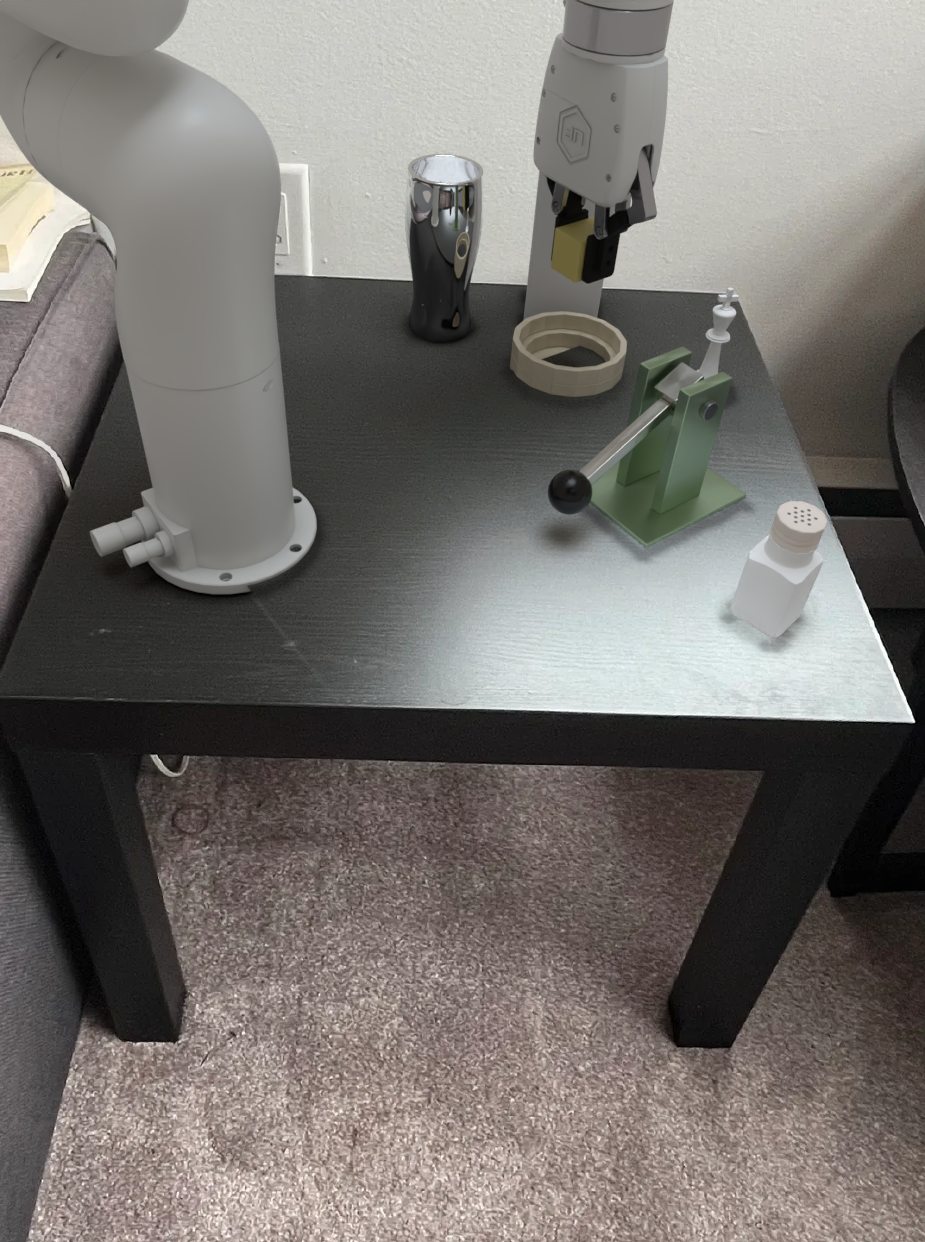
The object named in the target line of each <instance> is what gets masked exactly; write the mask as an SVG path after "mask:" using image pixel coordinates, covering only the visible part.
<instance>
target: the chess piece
mask: <svg viewBox="0 0 925 1242" xmlns="http://www.w3.org/2000/svg"><path fill="white" fill-rule="evenodd" d="M734 291H735V289H734V288H733V287H726V290H725V294H718V295H717V298H716V300H717V302H718V303H722V304H717V305H715V306H713V308H712V320H713V322H712V323H713V324H712V325H713V327H712V328H709V329H707V331H706V333H705V337H706V339H707V340H709V341H710V342H709V345H708V348H707V350H706V352H705V355H704V358H703V361H702V362H701V365H700V368H699V369H696V370H695V371H697V372H698V373H700V374H702V375H703V376H704V379H706V378H709V377H711V376H713V375H716V374H718V373H719V364H720V357H721V350H722V344H726V343H728V342H730V340H731V335H730V332H728V331H727V329H728V328H729V326H730V325H731V323H732V321H734V319H735V317H736V315H737V311H736V308H734V307H733V306H731V302H733V303H734V302H739V298H740V296H739V294H737V293H734Z"/></svg>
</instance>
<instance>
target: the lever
mask: <svg viewBox="0 0 925 1242" xmlns="http://www.w3.org/2000/svg"><path fill="white" fill-rule="evenodd" d="M701 380H704V376H703V375H702V374H700V373H698V372H697V371H696V370H695V369H694V368H692V367H691V366H690V365H689V366H688V365H686V364H684V363H683V362H681V363H680V364H679V365H678V366H677V367H676V368H675V369H673V370H672V371H671V372H670V373H669V374H668V375H667V376H666V377H665V378H663V379H662V380H661V381H660V382H659V383H658V384H657V385H656V386H655V387H654V389H655V393H656V397H657V401H656V402H655V403H654V404H653V405H652V406H650V407H649V408H648V409H647V410H646V411H645V412H644V413H643V414H642V415H640V416H639V417H638V418H637V419H636V420H635V421H634V422H633V423H632V424H630V425H629V426H628V427H627V426H626V428H625V429H623V430H622V431H621V432H620V433H619V434H618V435H617V436H616V437H615V438H614V439H612V441H610V442H609V443H608V444H607V445H606V446H605V447H604V448H602V450H601V451H599V452H598V453H597V454H596V455H595V456H594V457H593V458H592V459H590V461H588V462H586V464H585V465H584V466H582V468H581V469H579V470H576V469H565V470H562V471H559V472H558V473H556V474H555V475H554V476H553V477H552V478H551V479H550V481H549V483H548V486H547V498H548V501H549V504H550V505H551V507H552V508H553V509H554V510H556V511H557V512H558V513H561V514H563V515H567V516H571V515H577V514H580V513H582V512H583V511H584V510H586V508H587V507H588V506H589V505H590V504H591V503H590V501H591V498H592V485H593V484H594V483H595V482H596V481H597V480H598V479H600V478H601V477H602V476H603V475H604V474H605V473H606V472H607V471H608V470H609V469H611V468H612V467H613V466H614V465H615V464H616V463H617V462H618V461H619V460H621V459H622V458H623V457H624V456H625V455H626V454H627V453H628V452H629V451H630V450H632V449H633V448H634V447H635V446H636V445H637V444H638V443H639V442H640V441H642V440H643V439H644V438H645V437H646V436H647V435H648V434H649V433H650V432H651V431H653V430H654V429H655V428H656V427H657V426H658V425H659V424H660V423H661V422H662V421H664V420H665V419H666V418H667V417H668V416H669V415H671V416H672V417H673V415H674V411H675V407H676V403H677V399H678V395H679V391H680V389H682V388H684V387H687V386H689V385H692V384H694V383H696V382H699V381H701Z"/></svg>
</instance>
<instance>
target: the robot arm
mask: <svg viewBox="0 0 925 1242" xmlns="http://www.w3.org/2000/svg"><path fill="white" fill-rule="evenodd" d="M674 1H675V0H562V4H563V7H564V17H563V27H562V32H560V33H558V34H556V36H555V37H554V38H555V39H554V41H553V45H552V47H551V51H550V54H549V58H548V61H547V65H546V69H545V73H544V79H543V83H542V88H541V93H540V99H539V105H538V112H537V118H536V125H535V133H534V140H533V141H534V142H533V158H532V159H533V164H534V166H535V167H536V169H537V170H538V172H539V171H540V172H541V173H543V175H544V176H545V178H547V184H548V187H549V189H550V192H551V195H552V197H553V198H552V203H551V208H552V211H553V213H554V214H555V215H557V217H556V220H555V229H556V228H557V227H561V226H564V225H568V224H571V223H574V222H578V221H581V220H584V219H588V217H589V216H588V213H589V211H588V210H587V209H582V207H584V205H585V202H586V199H587V200H589V201H591V202H593V203H595V215H594V234H592V235H589V236H588V237H587V240H586V241H587V243H586V251H585V258H584V265H583V272H582V281H583V282H585V283H587V284H589V283H592V282H595V281H598V280H601V279H604V280H605V279H607V278H610V277H612V276H613V275H614V274H615V269H616V263H617V256H618V250H619V245H620V240H621V239H620V238H621V234H624V233H626V232H627V231H628V229H630V228H631V227H632V226H634V225H637V224H641V223H644V222H649V221H651V220H655V219H656V218H657V216H658V211H657V210H658V209H657V204H656V199H655V198H656V197H655V192H654V187H655V185H656V180H657V177H658V172H659V169H660V165H661V156H662V151H663V146H664V145H663V144H664V137H665V128H666V121H667V110H668V109H667V108H668V90H669V58H668V56H666V55H665V52H666V48H667V42H668V35H669V30H670V25H671V18H672V14H673V7H674ZM189 3H190V0H0V118H1V120H2V122H3V123H4V125H5V127H6V130H7V131H8V132H9V134H10V136H11V137H12V140H13V141H14V143H15V144H16V145H17V147H18V148H19V150H20V152H21V153H22V154H23V156H24V157H25V158H26V160H27V161H28V163H29V164H30V165H31V166H32V168H33V169H35V170H36V171H37V173H39V174H40V175H41V176H42V177H43V178H44V179H45V180H46V181H47V182H48V183H50V184H51V185H52V186H53V187H54V188H56V189H57V190H58V191H60V192H61V193H62V194H63V195H65V196H66V197H68V198H69V199H71V200H72V201H74V202H75V203H76V204H78V205H79V206H80V207H82V208H83V209H85V210H86V211H87V212H88V213H89V214H90V215H92V216H93V217H94V218H95V219H97V220H99V221H100V222H101V223H103V224H104V225H105V226H106V228H107V230H108V231H109V232H110V234H111V237H112V239H113V244H114V248H115V255H116V272H115V281H114V291H113V305H114V306H113V308H114V316H115V317H114V318H115V324H116V330H117V335H118V341H119V345H120V349H121V353H122V354H121V355H122V359H123V361H124V365H125V369H126V373H127V378H128V383H129V387H130V392H131V396H132V400H133V405H134V409H135V410H134V411H135V414H136V418H137V423H138V427H139V432H140V436H141V439H142V440H141V442H142V445H143V450H144V454H145V459H146V464H147V468H148V473H149V477H150V482H151V486H152V487H151V488H148V489H145V490H143V491H141V492H140V496H141V499H142V504H143V506H142V507H139V508H138V509H134V510H132V512H131V517H129V518H125V519H123V520H119V521H118V522H115V521H114V522H111V523H108V524H105V525H102V526H100V527H97V528H94V529H92V530H89V536H90V539H91V542H92V545H93V546H94V549H95V551H96V552H97V554H98V556H100V557H101V558H102V557H106V556H108V555H111V554H114V553H115V552H118V551H119V552H120V551H121V550H122V553H123V556H124V559H125V561H126V564H127V565H128V566H129V568H130V569H131V568H134V567H136V566H140V565H142V564H144V563H148V565H149V566H150V567H151V568H152V569H153V571H154V572H155V573H156V574H157V575H158V576H160V577H161V578H162V579H164V580H165V581H167V582H168V583H170V584H172V585H174V586H177V587H179V588H181V589H184V590H188V591H192V592H195V593H202V594H208V595H209V594H210V595H235V594H243V593H249V592H251V591H252V590H251V589H250V587H248V586H251V585H256V584H260V583H262V582H266V581H268V580H270V579H274V578H275V577H278V576H279V575H282V574H283V573H285V572H287V571H288V570H290V569H291V568H293V567H294V566H295V565H296V564H298V563H299V562H300V561H301V560H302V559H303V558H304V557H305V556H306V555H307V553H309V551H310V549H311V547H312V545H313V544H314V542H315V540H316V536H317V532H318V525H317V524H318V522H317V521H318V519H317V516H316V513H315V509H314V507H313V506H312V504H311V503H310V501H309V500H308V498H307V497H306V496H305V495H303V493H302V492H300V491H299V490H298V489H296V488H295V487H294V486H293V479H292V477H293V476H292V468H291V457H290V447H289V446H290V445H289V444H290V443H289V436H288V435H289V433H288V424H287V414H286V413H287V412H286V402H285V392H284V381H283V380H284V379H283V370H282V358H281V348H280V342H279V332H278V331H279V329H278V320H277V307H276V306H277V304H276V284H275V283H276V282H275V274H276V273H275V272H276V269H275V268H276V267H275V266H276V247H277V238H278V227H279V221H280V211H281V201H282V179H281V169H280V162H279V158H278V155H277V152H276V149H275V146H274V143H273V141H272V139H271V136H270V135H269V133H268V131H267V129H266V127H265V126H264V124H263V123H262V121H261V120H260V119H259V117H258V115H257V114H256V113H255V112H254V111H253V110H252V109H251V107H250V106H249V105H248V104H247V102H245V101H244V100H243V99H242V98H241V97H240V96H238V94H236V93H235V92H234V91H232V90H231V89H230V88H229V87H227V86H226V85H225V84H223V83H222V82H220V81H218V80H217V79H215V78H214V77H212V76H210V75H209V74H207V73H205V72H203V71H201V70H199V69H197V68H195V67H193V66H191V65H189V64H187V63H186V62H183V61H181V60H179V59H177V58H176V57H174V56H171V55H170V54H168V53H165V52H162V51H159V50H157V49H156V48H159V47H160V46H162V45H163V44H164V43H165V42H166V41H168V40H169V39H170V38H171V37H172V36H173V35H174V34H175V32H176V31H177V30H178V29H179V27H180V26H181V24H182V22H183V20H184V17H185V15H186V13H187V10H188V7H189ZM614 205H615V213H614V214H613V215H612V216H610V207H612V206H614ZM555 229H554V237H553V246H554V238H555ZM553 246H552V255H553ZM552 255H551V261H552ZM295 500H299V501H300V502H296V503H295ZM135 543H136V544H135ZM295 548H299V549H300V550H298V551H292V549H295Z"/></svg>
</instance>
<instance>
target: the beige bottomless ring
mask: <svg viewBox="0 0 925 1242" xmlns="http://www.w3.org/2000/svg"><path fill="white" fill-rule="evenodd" d="M523 320H524V319H523ZM523 320H522V321H521V322H520V323H519V324H517V325H516V326H515V327H514V330H513V336H512V340H511V351H510V352H511V353H510V361H509V369H510V371H513V372H514V374H515V377H517V378H518V379H519V380H521V381H522V382H523V383H525V385H528V386H529V387H530V388H533V389H535V390H537V391H540V392H544V393H546V394H548V395H554V396H560V397H562V396H563V397H571V398H578V397H579V398H580V397H589V396H596V395H599V394H601V393H604V392H606V391H608V390H611V389H613V388H614V387H615V386H616V385H617V384H618V383H619V382H620V381H621V380H622V377H623V372H624V368H625V361H626V356H627V348H628V346H627V345H628V341H627V340H626V338H625V336H624V335H623V333H622V332H621V331H620V329H618V328H617V327H615V326H614V325H612V324H611V323H610V322H608V321H606V320H605V319H602V318H599V317H597V318H596V317H593V316H590V315H587V314H582V313H574V312H566V311H559V312H546V313H540V314H537V315H534V316H531V317H528V318H526V319H525V320H524V321H523ZM578 347H582V348H585V349H588V350H591V351H592V352H594V353H595V354H597V355H598V356H600V357H601V358H602V359H603V360H604V362H602V363H600V364H597V365H589V366H579V367H576V366H575V367H573V366H566V365H559V364H554V363H552V362H549V361H546V360H544V359H546V358H549V357H552V356H554V355H555V356H556V355H557V354H560V353H563V352H566V351H569V350H572V349H574V348H578Z"/></svg>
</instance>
